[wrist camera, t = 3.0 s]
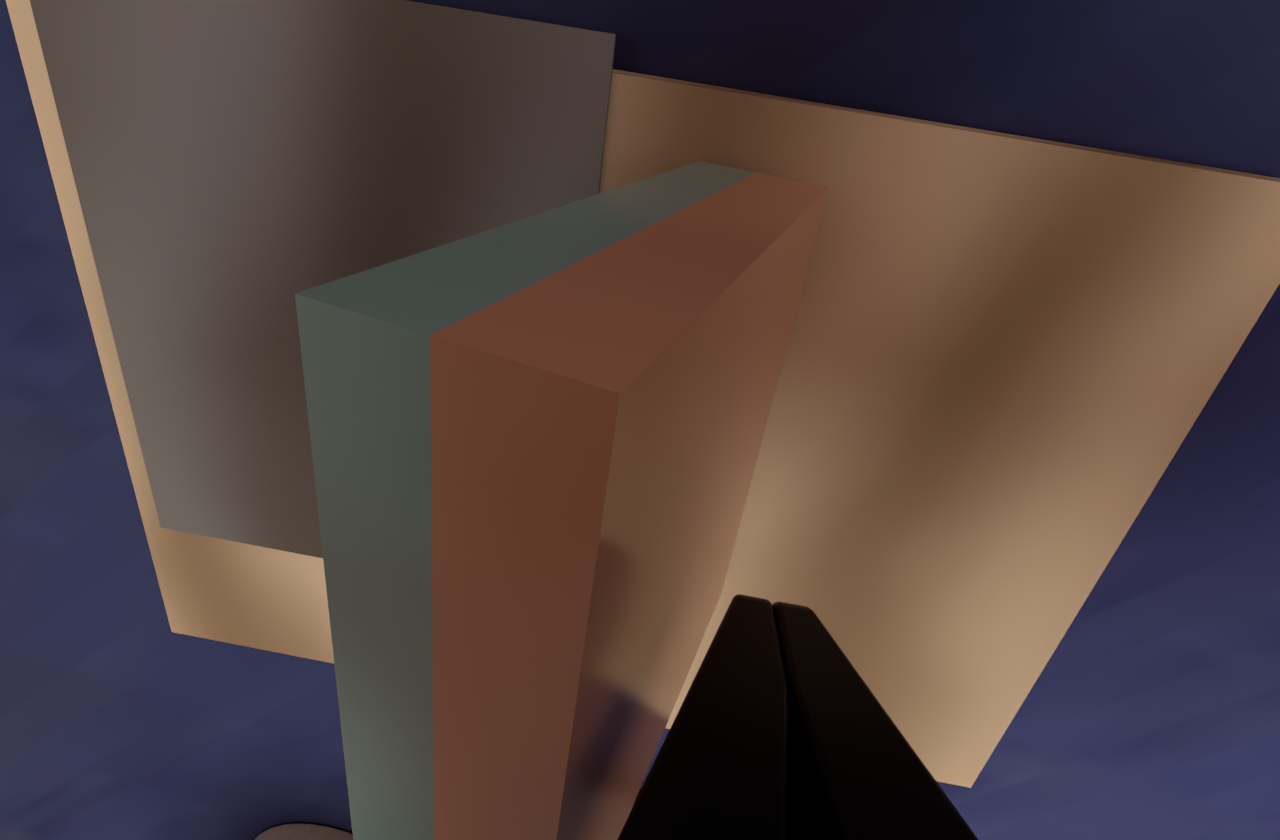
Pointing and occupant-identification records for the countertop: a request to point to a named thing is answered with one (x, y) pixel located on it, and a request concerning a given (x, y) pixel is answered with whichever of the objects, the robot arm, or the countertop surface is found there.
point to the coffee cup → (304, 833)
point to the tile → (541, 492)
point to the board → (598, 162)
